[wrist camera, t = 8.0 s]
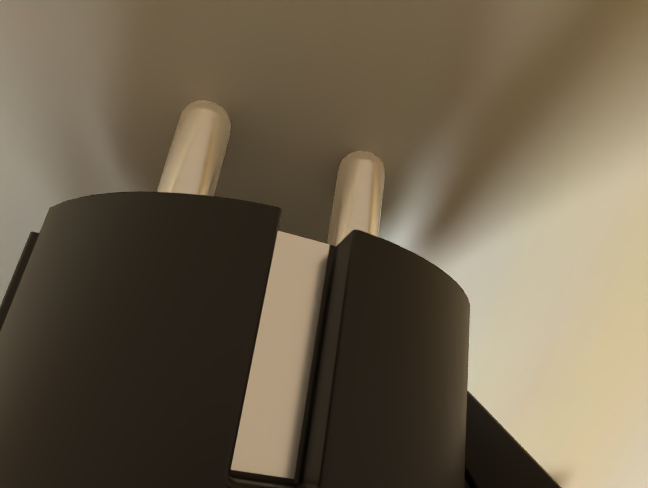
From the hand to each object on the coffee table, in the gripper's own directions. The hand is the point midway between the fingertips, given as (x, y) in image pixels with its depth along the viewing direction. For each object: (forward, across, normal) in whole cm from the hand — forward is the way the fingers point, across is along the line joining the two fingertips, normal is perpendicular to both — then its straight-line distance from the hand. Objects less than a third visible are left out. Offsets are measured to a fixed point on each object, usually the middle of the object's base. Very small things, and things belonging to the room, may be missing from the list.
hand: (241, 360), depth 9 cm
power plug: (+2, +1, +2) cm, 2 cm away
